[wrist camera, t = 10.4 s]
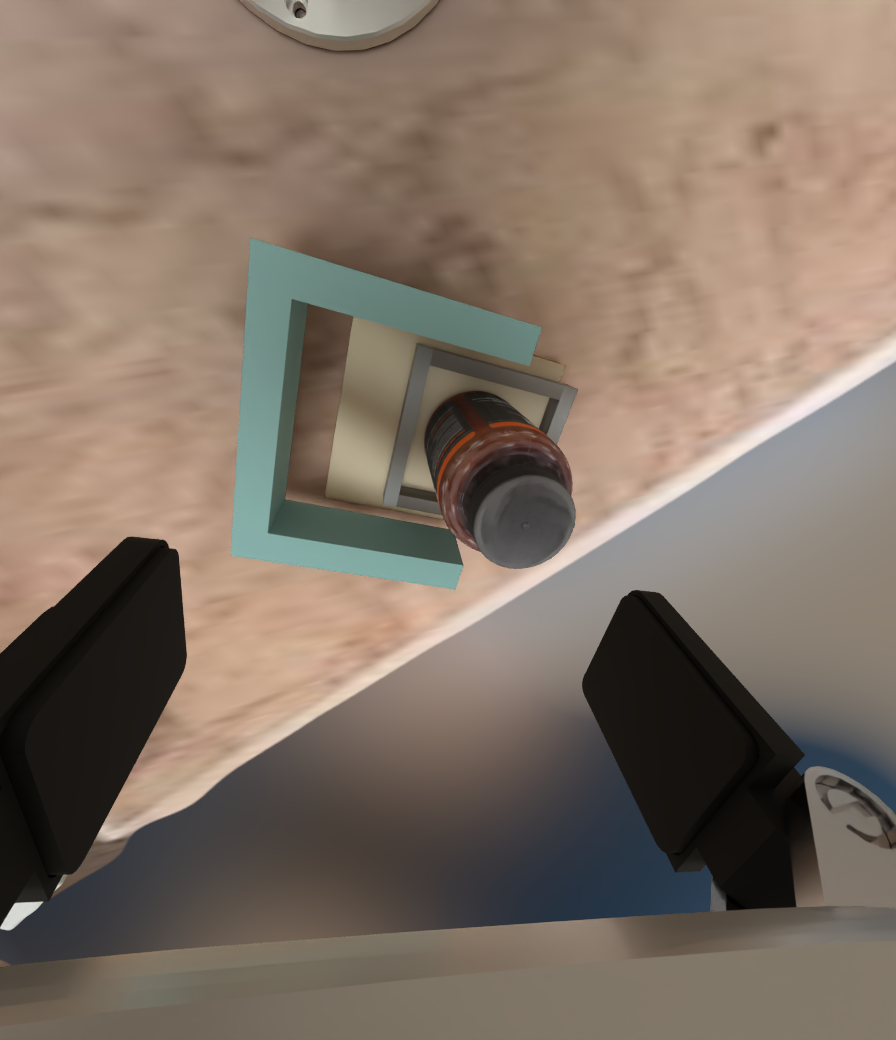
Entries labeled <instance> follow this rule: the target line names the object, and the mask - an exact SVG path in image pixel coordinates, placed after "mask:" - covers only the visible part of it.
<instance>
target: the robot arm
mask: <svg viewBox="0 0 896 1040" xmlns="http://www.w3.org/2000/svg"><path fill="white" fill-rule="evenodd" d="M239 1H240V2H241V3H242V4H243V5H244V6H245V7H246V8H247V9H249V10H250V11H251V12H253V13H254V14H255V15H257V16H258V17H259V18H261V19H262V20H263V21H265V22H266V23H267V24H269V25H270V26H271V27H273V28H274V29H276V30H277V31H279V32H281V33H283V34H285V35H288V36H290V37H292V38H294V39H296V40H298V41H300V42H302V43H304V44H307V45H311V46H316V47H320V48H325V49H329V50H334V51H344V50H364V49H368V48H371V47H374V46H377V45H381V44H384V43H387V42H390V41H392V40H393V39H395V38H397V37H398V36H400V35H401V34H403V33H405V32H406V31H408V30H410V29H411V28H413V27H414V26H415V25H416V24H417V23H418V22H419V21H420V20H421V19H422V18H423V17H424V16H425V15H426V14H427V13H428V12H429V11H430V10H431V9H432V8H433V7H434V6H435V5H436V4H437V3H438V2H439V0H239ZM298 8H303V9H304V10H305V11H306V15H305V16H304V17H303V18H295V15H294V14H295V11H296V10H297V9H298ZM186 658H187V652H186V640H185V627H184V615H183V603H182V590H181V578H180V566H179V555H178V552H177V550H176V549H170V548H169V546H168V544H167V542H166V541H165V540H159V539H149V538H140V537H127V538H126V539H124V540H123V541H122V542H121V543H120V544H119V545H118V546H117V547H116V548H115V549H114V550H113V551H112V552H110V553H109V554H108V555H107V556H106V557H105V558H104V559H103V560H102V561H101V562H100V563H99V564H98V565H97V566H96V567H95V568H94V569H93V570H92V571H91V572H90V573H89V574H88V575H86V576H85V577H84V578H83V579H82V580H81V581H80V582H79V583H78V584H77V585H76V586H75V587H74V588H73V589H72V590H71V591H70V592H69V593H68V594H67V595H66V596H65V597H64V598H62V599H61V600H60V601H59V602H58V603H57V604H56V605H55V606H54V607H51V608H50V609H48V610H47V611H45V612H44V613H43V614H42V615H41V616H40V617H38V618H37V619H36V620H35V621H34V622H33V623H32V624H31V625H30V626H29V627H28V628H27V629H26V630H25V631H24V632H23V633H22V634H21V635H19V636H18V637H17V638H16V639H15V640H14V641H13V642H12V643H11V644H10V645H9V646H8V647H7V648H6V649H5V650H4V651H3V652H2V653H0V927H1V925H2V923H3V922H4V920H5V918H6V917H7V915H8V914H9V912H10V910H11V909H12V907H13V905H14V904H15V903H26V902H47V901H49V900H50V898H51V896H52V895H53V893H54V891H55V889H56V887H57V885H58V884H59V882H60V880H61V878H62V876H63V875H69V874H73V873H74V872H75V871H76V870H77V869H78V868H79V867H80V865H81V864H82V862H83V860H84V859H85V857H86V855H87V853H88V851H89V849H90V848H91V846H92V844H93V842H94V840H95V838H96V836H97V834H98V832H99V831H100V829H101V827H102V825H103V823H104V821H105V819H106V817H107V815H108V814H109V812H110V810H111V808H112V806H113V804H114V802H115V800H116V798H117V797H118V795H119V793H120V791H121V789H122V787H123V785H124V783H125V781H126V780H127V778H128V776H129V774H130V772H131V770H132V768H133V766H134V764H135V763H136V761H137V759H138V757H139V755H140V753H141V751H142V749H143V747H144V746H145V744H146V742H147V740H148V738H149V736H150V734H151V732H152V730H153V729H154V727H155V725H156V723H157V721H158V719H159V717H160V715H161V713H162V712H163V710H164V708H165V706H166V704H167V702H168V700H169V698H170V696H171V695H172V693H173V691H174V689H175V687H176V685H177V683H178V681H179V679H180V678H181V676H182V673H183V671H184V668H185V664H186ZM582 688H583V693H584V695H585V697H586V699H587V702H588V704H589V706H590V707H591V709H592V712H593V714H594V716H595V718H596V720H597V722H598V724H599V726H600V728H601V731H602V733H603V734H604V737H605V739H606V741H607V743H608V745H609V747H610V749H611V751H612V753H613V755H614V757H615V759H616V762H617V764H618V766H619V768H620V770H621V772H622V774H623V776H624V778H625V780H626V782H627V784H628V786H629V788H630V790H631V793H632V794H633V797H634V799H635V801H636V803H637V805H638V807H639V809H640V811H641V813H642V815H643V817H644V819H645V822H646V824H647V826H648V827H649V830H650V832H651V834H652V836H653V838H654V840H655V842H656V844H657V845H658V847H659V848H660V849H661V850H662V851H663V852H665V853H666V854H667V856H668V858H669V860H670V862H671V864H672V866H673V868H674V870H675V872H692V871H701V870H702V869H703V867H704V866H705V865H707V867H708V868H709V870H710V872H711V874H712V875H713V877H712V893H711V912H700V913H684V914H668V915H653V916H637V917H622V918H605V919H591V920H577V921H562V922H547V923H532V924H517V925H503V926H489V927H474V928H460V929H447V930H433V931H417V932H403V933H389V934H376V935H364V936H349V937H337V938H323V939H309V940H296V941H282V942H269V943H256V944H242V945H230V946H216V947H204V948H203V947H202V948H189V949H178V950H167V951H157V952H146V953H135V954H125V955H114V956H103V957H93V958H82V959H71V960H61V961H51V962H39V963H29V964H20V965H13V966H6V967H0V1040H896V815H895V814H894V813H893V812H892V811H891V810H890V809H889V808H888V807H887V806H886V805H885V804H884V803H883V802H882V801H881V800H880V799H879V798H878V797H876V796H875V795H874V794H873V793H871V792H870V791H869V790H868V789H866V788H865V787H864V786H862V785H861V784H859V783H858V782H856V781H854V780H853V779H851V778H850V777H848V776H846V775H844V774H842V773H839V772H837V771H835V770H833V769H829V768H824V767H820V766H819V767H810V768H809V769H808V770H807V771H806V772H805V773H804V774H803V775H802V776H801V775H800V774H799V773H798V772H797V771H796V769H795V768H794V766H795V765H796V764H797V763H798V762H799V761H800V760H801V759H802V758H803V757H804V753H803V752H802V751H801V750H800V749H799V748H798V746H797V745H796V744H795V743H794V742H793V741H792V740H791V739H790V738H789V736H788V735H787V734H786V733H785V732H784V731H783V730H782V729H781V727H779V725H778V724H777V723H776V722H775V721H774V720H773V719H772V717H771V716H770V715H769V714H768V713H767V712H766V711H765V710H764V708H763V707H762V706H761V705H760V704H759V703H758V702H757V701H756V700H755V698H754V697H753V696H752V695H751V694H750V693H749V692H748V690H746V688H744V686H743V685H742V684H741V683H740V682H739V680H738V679H737V678H736V677H735V676H734V675H733V674H732V673H731V672H730V670H729V669H728V668H727V667H726V666H725V665H724V664H723V663H722V661H721V660H720V659H719V658H718V657H717V656H716V655H715V654H714V653H713V651H712V650H711V649H710V648H709V647H708V646H707V645H706V644H705V642H704V641H703V640H702V639H701V638H700V637H699V636H698V635H697V633H695V631H694V630H693V629H692V628H691V627H690V626H689V625H688V623H687V622H686V621H685V620H684V619H683V618H682V617H681V616H680V614H679V613H678V612H677V611H676V610H675V609H674V608H673V607H672V605H671V604H670V603H669V602H668V601H667V600H666V599H665V598H664V596H662V595H661V594H660V593H656V592H649V591H639V590H635V591H631V592H630V593H629V594H628V595H627V596H624V597H623V598H622V599H621V601H620V603H619V605H618V607H617V609H616V612H615V614H614V615H613V618H612V620H611V622H610V624H609V626H608V628H607V630H606V632H605V634H604V636H603V638H602V640H601V642H600V645H599V647H598V648H597V651H596V653H595V655H594V657H593V659H592V661H591V663H590V665H589V667H588V669H587V672H586V673H585V675H584V678H583V682H582Z"/></svg>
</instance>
